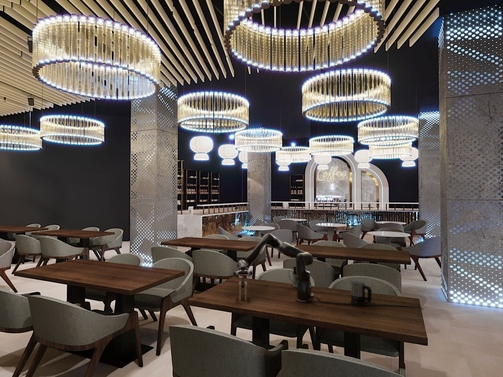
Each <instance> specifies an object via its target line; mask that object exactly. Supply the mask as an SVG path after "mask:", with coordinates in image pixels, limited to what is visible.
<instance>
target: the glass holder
mask: <svg viewBox="0 0 503 377" xmlns="http://www.w3.org/2000/svg"><path fill="white" fill-rule="evenodd" d="M292 268H293V269H290V270H289V271H288V273H290V272H291V273H292V279H291V275H288V278H289V280H290V281H291V282H292V287H294V288H297V272H296V266H293V267H292Z"/></svg>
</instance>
